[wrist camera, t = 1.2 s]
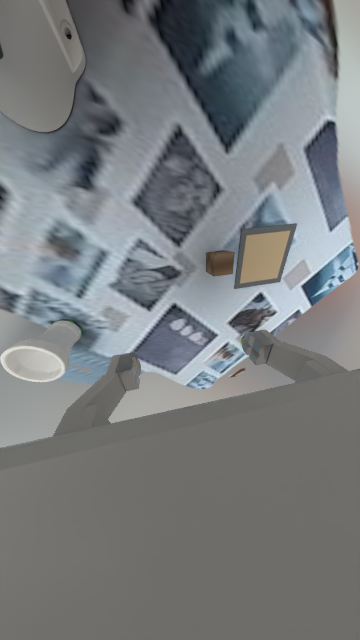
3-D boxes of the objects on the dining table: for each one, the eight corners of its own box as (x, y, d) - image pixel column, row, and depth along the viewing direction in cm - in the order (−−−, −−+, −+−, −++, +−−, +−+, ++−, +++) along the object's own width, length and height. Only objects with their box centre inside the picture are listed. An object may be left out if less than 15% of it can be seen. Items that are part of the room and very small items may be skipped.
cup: (68, 306, 38) (29, 337, 26) (97, 333, 44) (76, 369, 32) (36, 323, 39) (-16, 361, 27) (68, 348, 45) (38, 388, 33)
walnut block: (206, 252, 37) (214, 254, 32) (223, 250, 38) (234, 252, 33) (206, 271, 40) (213, 276, 35) (222, 269, 40) (232, 273, 35)
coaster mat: (241, 229, 36) (242, 229, 35) (296, 223, 37) (297, 223, 37) (234, 288, 44) (234, 288, 44) (279, 281, 46) (279, 281, 45)
